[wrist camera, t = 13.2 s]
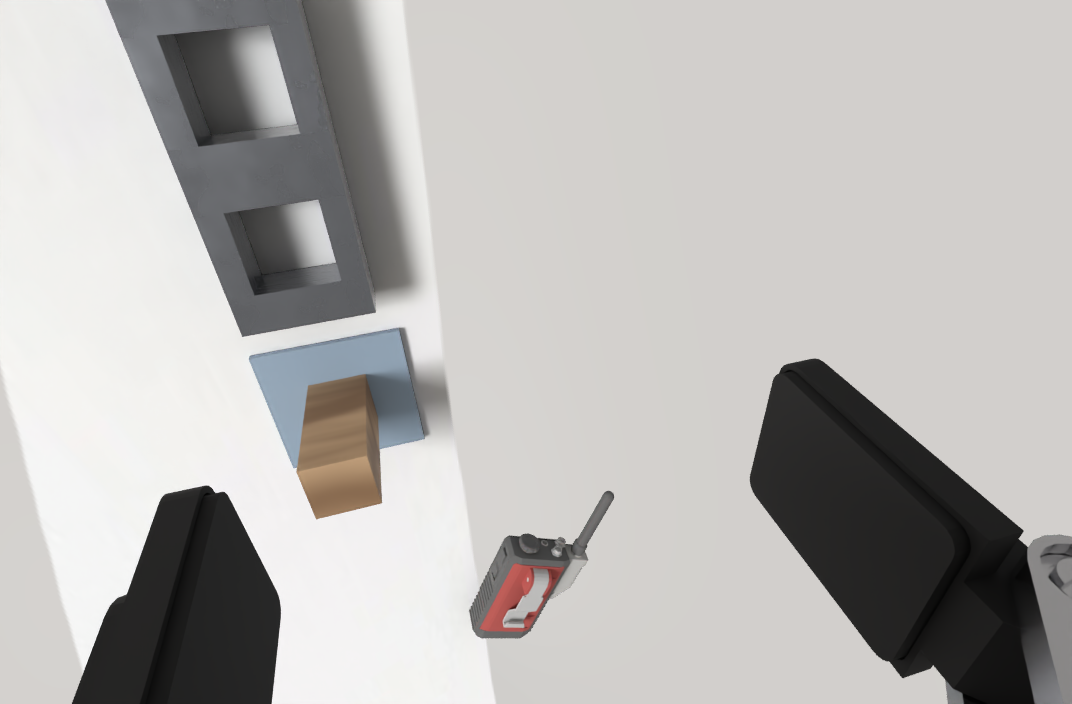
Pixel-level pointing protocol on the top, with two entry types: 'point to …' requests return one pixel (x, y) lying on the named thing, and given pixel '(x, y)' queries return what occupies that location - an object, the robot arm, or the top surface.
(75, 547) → the top surface
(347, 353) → the pad
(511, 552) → the walkie-talkie
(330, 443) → the plug
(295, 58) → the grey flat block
